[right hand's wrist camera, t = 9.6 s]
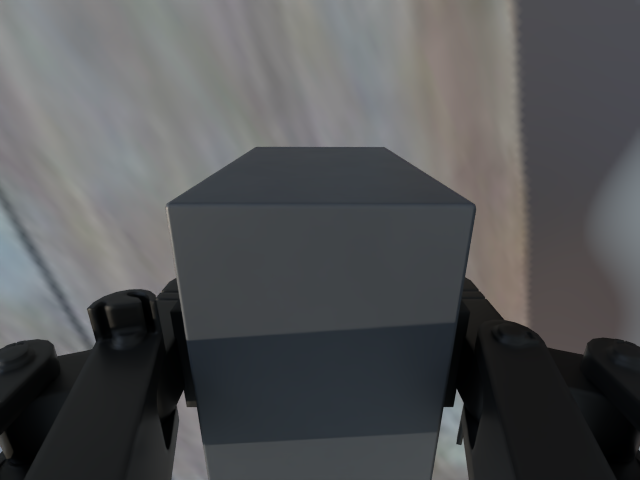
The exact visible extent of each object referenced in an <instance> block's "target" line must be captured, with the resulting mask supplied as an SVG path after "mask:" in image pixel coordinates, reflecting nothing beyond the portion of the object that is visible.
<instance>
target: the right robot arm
mask: <svg viewBox="0 0 640 480" xmlns="http://www.w3.org/2000/svg"><path fill="white" fill-rule="evenodd" d="M87 310H88V314H89V318H90V321H91V325H92V329H93V332H94V336H95V339H96V343H95V345H94V347H93V349H91V350H87V351H82V352H77V353H72V354H67V355H62V356H57V354H56V351H55V348H54V345H53V344H52V343H50V342H49V341H47V340H40V339H36V340H27V341H20V342H17V343H13V344H9V345H7V346H5V347H4V348H1V349H0V446H1V448H2V450H3V451H2V452H1V453H0V480H171V477H172V470H173V462H174V455H175V447H176V440H177V432H178V425H179V416H178V410H177V403H178V401H179V399H180V396H181V394H182V392H183V390H184V393H185V399H186V405H187V407H197V404H196V398H195V391H194V385H193V379H192V373H191V366H190V360H189V354H188V347H187V341H186V335H185V328H184V322H183V316H182V310H181V303H180V297H179V291H178V284H177V278H175V279H174V280H172V281H170V282H169V283H168V284H167V285H166V287H165V288H164V289H163V290H162V293H160V294H159V295H158V296H157V297H156V296H155V294H153V293H152V292H151V291H147V290H142V289H133V290H125V291H120V292H115V293H113V294H110V295H107V296H104V297H102V298H100V299H99V300H97V301H95V302H93V303H92V304H91V305H90V306H89V307H88V308H87ZM456 389H457V390H458V392H459V394H460V396H461V398H462V400H463V402H464V405H463V410H462V415H461V421H460V426H459V431H458V436H457V443H456V444H459V445H461V444H462V439H464V446H465V454H466V461H467V469H468V476H469V480H640V451H639V450H638V449H639V447H640V347H639V346H637V345H635V344H633V343H631V342H627V341H624V340H619V339H610V338H596V339H592V340H591V341H590V342H588V343H587V346H586V349H585V352H584V355H582V354H577V353H571V352H566V351H561V350H556V349H552V348H547V346H546V345H545V342H544V341H543V340H542V339H541V337H540V336H539V335H538V334H537V333H535V332H534V331H532V330H531V329H529V328H528V327H525V326H523V325H520V324H518V323H515V322H511V321H506V320H504V319H503V318H502V317H501V315H500V314H499V313H498V312H497V311H496V310H495V308H494V307H493V306H492V305H491V304H490V303H489V301H488V300H487V299H485V297H484V295H483V294H482V293H481V292H479V290H478V288H477V287H476V286H475V285H474V284H473V283H472V281H471V280H469V279H467V278H465V279H464V286H463V292H462V298H461V304H460V310H459V316H458V322H457V328H456V334H455V340H454V346H453V352H452V358H451V364H450V370H449V376H448V382H447V389H446V395H445V401H444V407H453V406H454V400H455V395H456Z"/></svg>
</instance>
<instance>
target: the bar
mask: <svg viewBox="0 0 640 480" xmlns="http://www.w3.org/2000/svg"><path fill="white" fill-rule="evenodd" d="M165 209H166V215H167V221H168V228H169V234H170V240H171V247H172V253H173V259H174V266H175V272H176V278H177V284H178V291H179V297H180V303H181V310H182V316H183V322H184V328H185V335H186V341H187V347H188V354H189V360H190V366H191V373H192V379H193V385H194V391H195V398H196V404H197V410H198V417H199V423H200V429H201V435H202V442H203V448H204V454H205V461H206V467H207V473H208V480H431V479H432V473H433V467H434V461H435V455H436V449H437V443H438V437H439V431H440V425H441V419H442V413H443V407H444V401H445V395H446V389H447V382H448V376H449V370H450V364H451V358H452V352H453V346H454V340H455V334H456V328H457V322H458V316H459V310H460V304H461V298H462V292H463V286H464V279H465V273H466V267H467V261H468V255H469V249H470V243H471V237H472V231H473V225H474V219H475V213H476V206H475V204H473V203H472V202H470V201H469V200H467V199H466V198H464V197H462V196H461V195H459V194H458V193H456V192H454V191H453V190H451V189H450V188H448V187H447V186H445V185H443V184H442V183H440V182H439V181H437V180H436V179H434V178H432V177H431V176H429V175H428V174H426V173H424V172H423V171H421V170H420V169H418V168H417V167H415V166H413V165H412V164H410V163H409V162H407V161H406V160H404V159H402V158H401V157H399V156H398V155H396V154H394V153H393V152H391V151H390V150H388V149H387V148H385V147H255V148H254V149H252V150H250V151H249V152H247V153H246V154H244V155H243V156H241V157H239V158H238V159H236V160H235V161H233V162H232V163H230V164H228V165H227V166H225V167H224V168H222V169H221V170H219V171H217V172H216V173H214V174H213V175H211V176H210V177H208V178H206V179H205V180H203V181H202V182H200V183H199V184H197V185H195V186H194V187H192V188H191V189H189V190H188V191H186V192H184V193H183V194H181V195H180V196H178V197H177V198H175V199H173V200H172V201H170V202H169V203H167V204H166V208H165Z"/></svg>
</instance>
